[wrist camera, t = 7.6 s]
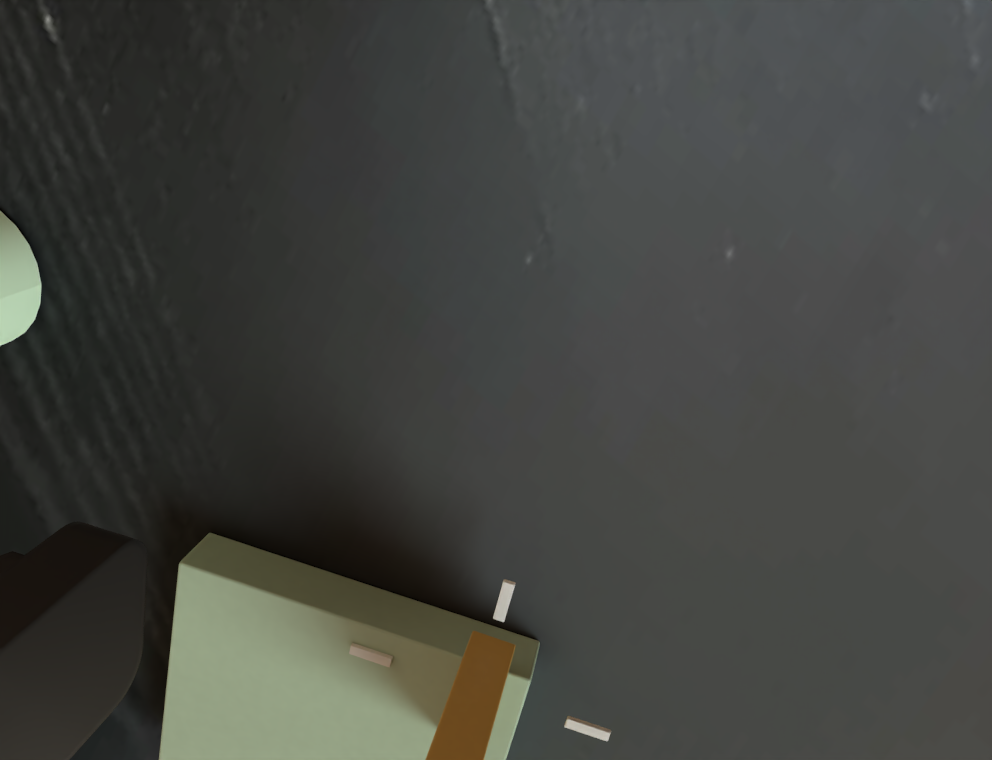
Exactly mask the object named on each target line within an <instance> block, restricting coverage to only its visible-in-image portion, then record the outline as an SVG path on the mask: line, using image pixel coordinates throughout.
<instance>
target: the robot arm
mask: <svg viewBox="0 0 992 760" xmlns="http://www.w3.org/2000/svg"><path fill="white" fill-rule="evenodd" d="M146 578H147V550H146V547H145V545H144V544H143V543H142V542H141V541H139V540H136V539H133V538H130V537H126V536H123V535H120V534H117V533H114V532H111V531H108V530H104V529H101V528H98V527H95V526H92V525H89V524H86V523H82V522H72V523H70V524H68V525H66V526H64V527H63V528H61V529H60V530H58V531H57V532H56V533H54V534H53V535H52V536H50V537H49V538H47V539H46V540H45V541H43V542H42V543H41V544H39V545H38V546H37V547H35V548H34V549H33V550H31V551H30V552H29V553H27V554H26V555H22V554H19V553H16V552H13V551H12V552H9V553H6V554H4V555H1V556H0V760H69V759H70V758H71V757H72V756H73V755H74V754H75V753H76V752H77V750H78V749H79V748H80V747H81V746H82V745H83V744H84V743H85V742H86V740H87V739H88V738H89V737H90V736H91V735H92V734H93V733H94V731H95V730H96V729H97V728H98V727H99V726H100V725H101V724H102V723H103V721H104V720H105V719H106V718H107V717H108V716H109V715H110V714H111V712H112V711H113V710H114V709H115V708H116V707H117V705H118V704H119V703H120V702H121V700H122V699H123V697H124V696H125V694H126V693H127V691H128V689H129V687H130V686H131V684H132V682H133V679H134V677H135V675H136V673H137V670H138V667H139V664H140V661H141V656H142V651H143V638H144V618H145V598H146Z"/></svg>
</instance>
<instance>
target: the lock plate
mask: <svg viewBox="0 0 992 760" xmlns="http://www.w3.org/2000/svg"><path fill="white" fill-rule="evenodd" d="M514 587H515V582H512V581H509V580H506V579H504V581H503V584H502V588H501V591H500V595H499V598H498V602H497V605H496V609H495V612H494V616H493V619H495V620H498V621H501V622H504V621H505V617H506V614H507V611H508V607H509V604H510V600H511V597H512V594H513V590H514ZM473 631H477V632H480V633H483V634H486V635H488V636H491V637H494V638H497V639H500V640H503V641H506V642H509V643H512V644H515V646H516V647H515V651H514V654H513V658H512V661H511V665H510V668H509V672H508V676H507V679H506V683H505V686H504V690H503V693H502V697H501V700H500V704H499V708H498V711H497V715H496V718H495V722H494V725H493V729H492V732H491V736H490V739H489V743H488V747H487V750H486V754H485V757H484V760H506V758H507V755H508V752H509V749H510V745H511V742H512V739H513V736H514V733H515V730H516V727H517V724H518V720H519V717H520V714H521V711H522V708H523V705H524V702H525V699H526V695H527V692H528V689H529V686H530V683H531V679H532V675H533V671H534V667H535V663H536V659H537V655H538V650H539V646H540V642H539V641H537V640H534V639H531V638H528V637H525V636H522V635H519V634H516V633H513V632H510V631H507V630H504V629H501V628H498V627H495V626H492V625H489V624H486V623H483V622H480V621H477V620H474V619H471V618H468V617H464V616H461V615H458V614H455V613H452V612H449V611H446V610H443V609H440V608H437V607H434V606H431V605H428V604H425V603H422V602H419V601H416V600H413V599H410V598H407V597H404V596H401V595H398V594H395V593H392V592H389V591H386V590H383V589H380V588H377V587H373V586H370V585H367V584H364V583H361V582H358V581H355V580H352V579H349V578H346V577H343V576H340V575H337V574H334V573H331V572H328V571H325V570H322V569H319V568H316V567H313V566H310V565H307V564H304V563H301V562H298V561H295V560H292V559H289V558H286V557H282V556H279V555H276V554H273V553H270V552H267V551H264V550H261V549H258V548H255V547H252V546H249V545H246V544H243V543H240V542H237V541H234V540H231V539H228V538H225V537H222V536H219V535H216V534H213V533H208V534H207V535H206V536H205V537H204V538H203V539H202V540H201V541H200V542H199V543H198V544H197V545H196V546H195V547H194V548H193V549H192V550H191V551H190V552H189V553H188V554H187V555H186V556H185V557H184V558H183V559H182V560H181V561H180V563H179V568H178V577H177V587H176V597H175V607H174V617H173V627H172V636H171V646H170V656H169V666H168V676H167V686H166V695H165V705H164V715H163V725H162V735H161V745H160V754H159V760H425V759H426V757H427V754H428V751H429V749H430V746H431V743H432V740H433V738H434V735H435V732H436V729H437V727H438V724H439V721H440V718H441V716H442V713H443V710H444V708H445V705H446V702H447V699H448V697H449V694H450V691H451V688H452V686H453V683H454V680H455V677H456V675H457V672H458V669H459V667H460V664H461V661H462V658H463V656H464V653H465V650H466V647H467V645H468V642H469V639H470V636H471V634H472V632H473ZM565 727H566V728H569V729H572V730H575V731H578V732H581V733H584V734H587V735H590V736H593V737H595V738H598V739H601V740H604V741H608V739H609V736H610V734H611V730H610V729H607V728H604V727H601V726H598V725H595V724H592V723H589V722H586V721H583V720H580V719H577V718H574V717H571V716H567V719H566V722H565Z"/></svg>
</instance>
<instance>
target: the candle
mask: <svg viewBox="0 0 992 760" xmlns="http://www.w3.org/2000/svg"><path fill="white" fill-rule="evenodd" d="M40 302H41V280H40V275H39V270H38V264H37V262H36V260H35V257H34V255H33V253H32V250H31V248H30V246H29V244H28V242H27V241H26V239H25V238H24V236H23V235H22V234H21V232H20V231H19V229H18V228H17V226H16V225H15V224H14V223H13V222H12V221H11V220H10V219H8V218H7V217H6V216H5V215H4V214H3V213H2V212H1V211H0V346H1V345H3V344H6V343H8V342H10V341H13V340H14V339H16V338H17V337H19V336H20V335H22V334H23V333H25V332H26V331H27V329H28V328H29V327H30V325H31V324H32V323H33V321H34V320H35V318H36V315H37V312H38V309H39V306H40Z"/></svg>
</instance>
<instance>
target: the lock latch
mask: <svg viewBox="0 0 992 760" xmlns="http://www.w3.org/2000/svg"><path fill="white" fill-rule="evenodd" d="M515 647H516V646H515V644H512V643H509V642H506V641H503V640H500V639H497V638H494V637H491V636H488V635H486V634H483V633H480V632H477V631H473V632H472V634H471V636H470V639H469V642H468V645H467V647H466V650H465V653H464V656H463V658H462V661H461V664H460V667H459V669H458V672H457V675H456V677H455V680H454V683H453V686H452V688H451V691H450V694H449V697H448V699H447V702H446V705H445V708H444V710H443V713H442V716H441V718H440V721H439V724H438V727H437V729H436V732H435V735H434V738H433V740H432V743H431V746H430V749H429V751H428V754H427V757H426V759H425V760H484V757H485V754H486V750H487V747H488V743H489V739H490V736H491V732H492V729H493V725H494V722H495V718H496V715H497V711H498V708H499V704H500V700H501V697H502V693H503V690H504V686H505V683H506V679H507V676H508V672H509V668H510V665H511V661H512V658H513V654H514V651H515Z"/></svg>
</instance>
